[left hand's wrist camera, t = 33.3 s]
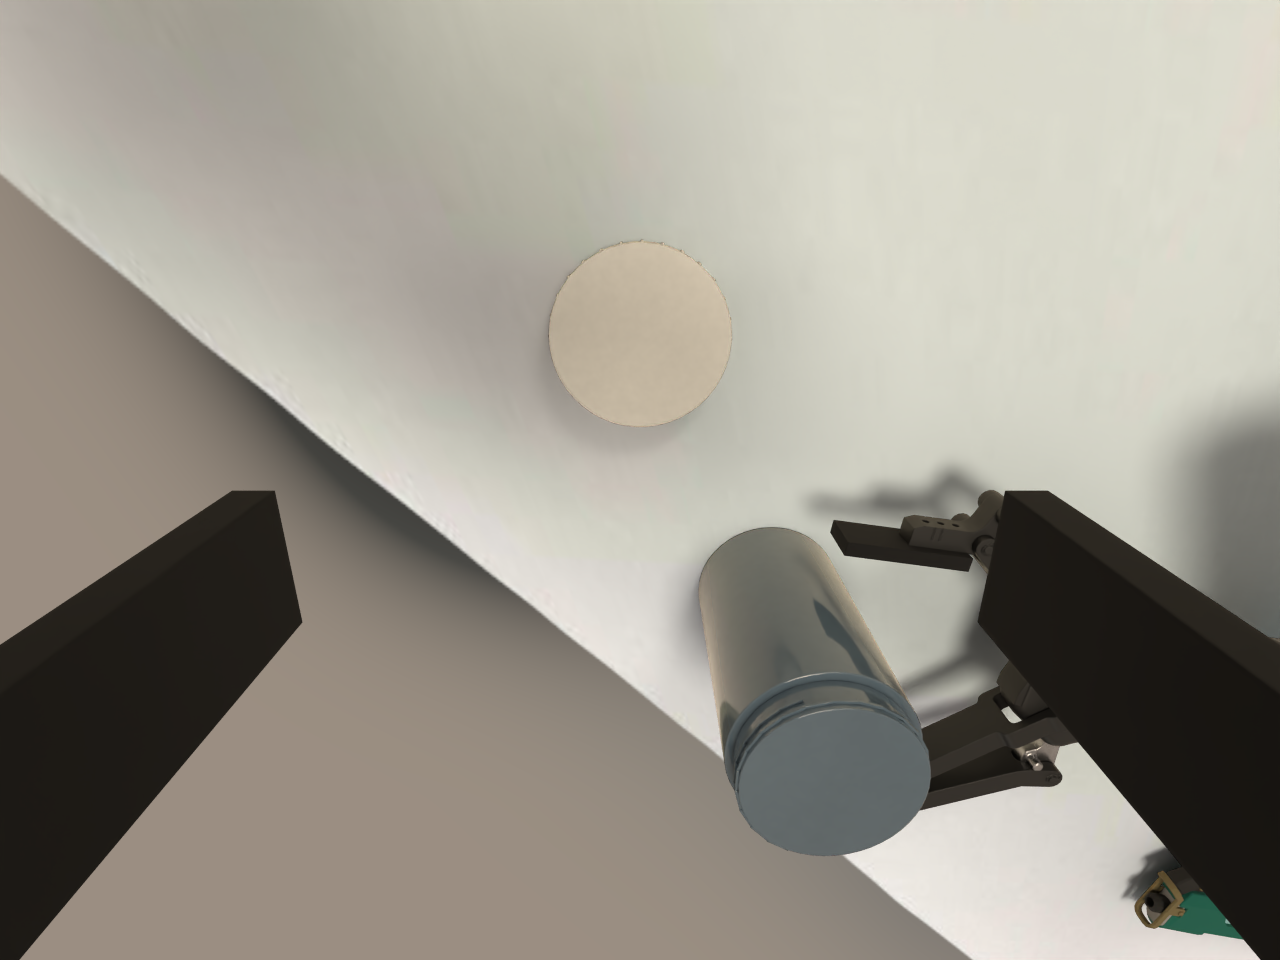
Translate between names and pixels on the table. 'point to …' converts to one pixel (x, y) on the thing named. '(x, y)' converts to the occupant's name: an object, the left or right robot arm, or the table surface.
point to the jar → (806, 700)
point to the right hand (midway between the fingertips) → (807, 645)
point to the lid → (640, 334)
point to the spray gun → (1182, 907)
